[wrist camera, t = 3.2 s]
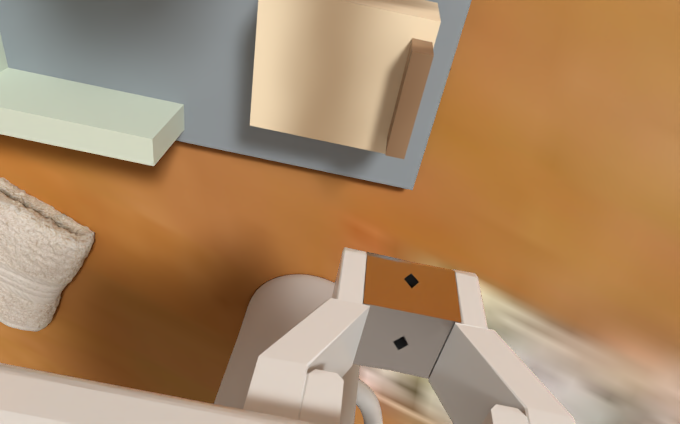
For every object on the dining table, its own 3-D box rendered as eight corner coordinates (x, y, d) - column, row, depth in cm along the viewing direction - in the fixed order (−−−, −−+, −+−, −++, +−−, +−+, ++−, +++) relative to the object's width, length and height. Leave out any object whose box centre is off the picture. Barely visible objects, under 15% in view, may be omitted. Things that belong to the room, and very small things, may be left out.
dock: (499, -102, 20) (520, -92, 16) (412, 180, 29) (412, 233, 25) (-76, -224, 20) (-197, -244, 16) (3, 94, 29) (-65, 134, 25)
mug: (227, 312, 37) (170, 455, 28) (297, 252, 33) (255, 398, 24) (346, 388, 41) (328, 536, 32) (423, 343, 37) (427, 499, 28)
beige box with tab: (436, -3, 22) (443, 34, 18) (403, 120, 26) (401, 175, 21) (281, -36, 22) (248, -8, 18) (269, 92, 25) (239, 142, 21)
